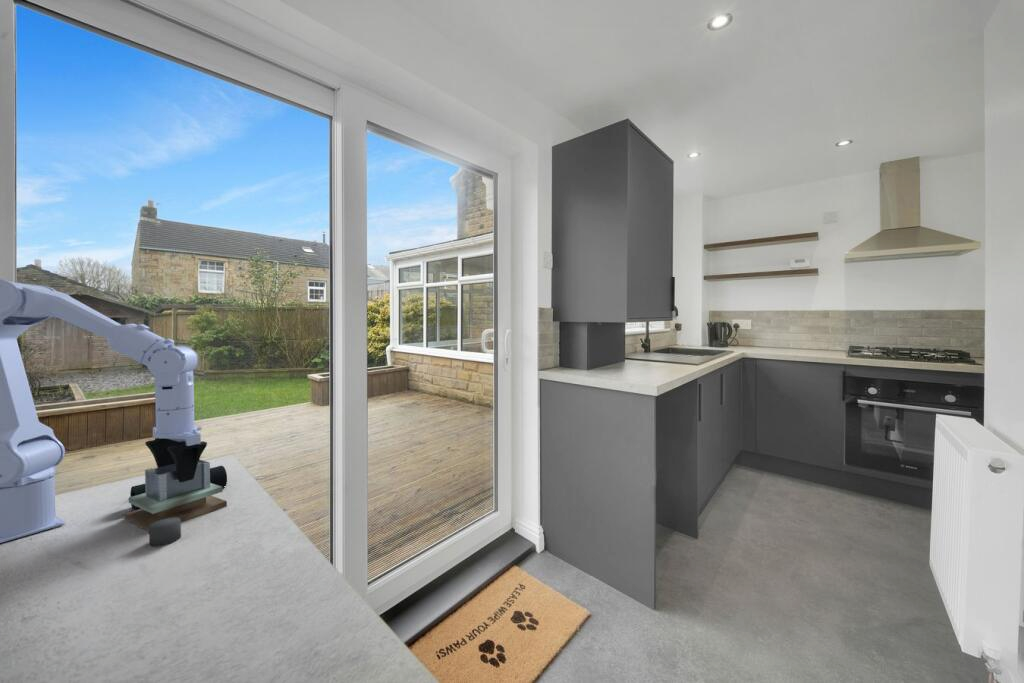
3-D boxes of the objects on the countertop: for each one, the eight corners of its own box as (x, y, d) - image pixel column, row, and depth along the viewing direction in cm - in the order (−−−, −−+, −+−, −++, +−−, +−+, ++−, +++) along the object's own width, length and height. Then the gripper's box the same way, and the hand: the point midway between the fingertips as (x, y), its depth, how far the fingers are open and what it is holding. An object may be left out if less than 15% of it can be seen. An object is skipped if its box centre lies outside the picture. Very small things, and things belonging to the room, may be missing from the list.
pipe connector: (122, 475, 83) (207, 457, 95) (122, 500, 83) (208, 479, 95) (136, 489, 76) (227, 467, 89) (137, 515, 76) (227, 490, 89)
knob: (155, 549, 64) (155, 531, 63) (144, 543, 65) (144, 525, 65) (185, 538, 67) (185, 520, 67) (174, 532, 69) (174, 515, 69)
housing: (195, 482, 82) (194, 458, 82) (210, 487, 79) (209, 462, 79) (145, 496, 75) (145, 470, 75) (160, 502, 72) (159, 475, 72)
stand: (150, 532, 69) (150, 509, 69) (124, 519, 74) (124, 498, 74) (226, 506, 79) (226, 486, 79) (199, 495, 85) (198, 477, 84)
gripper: (218, 407, 76) (219, 476, 77) (182, 401, 83) (183, 465, 84) (173, 414, 70) (175, 489, 70) (138, 407, 77) (140, 476, 77)
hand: (176, 477), depth 77 cm, fingers open, 7 cm apart
